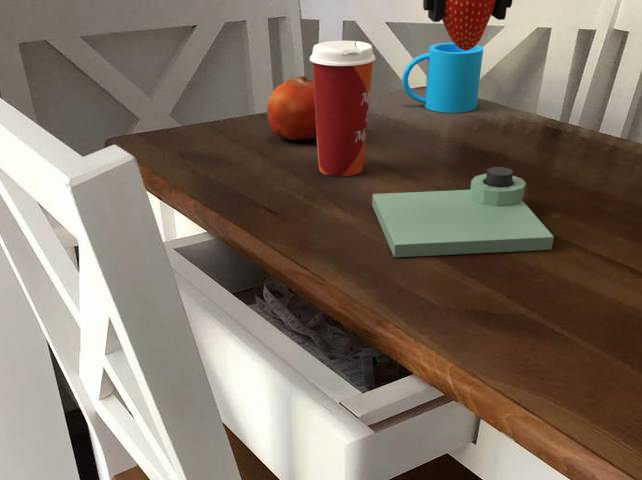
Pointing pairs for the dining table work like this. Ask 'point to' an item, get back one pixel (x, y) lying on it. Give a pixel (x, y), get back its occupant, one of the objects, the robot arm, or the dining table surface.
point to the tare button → (499, 177)
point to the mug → (448, 78)
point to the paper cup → (341, 104)
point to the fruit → (466, 20)
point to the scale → (461, 221)
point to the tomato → (293, 109)
